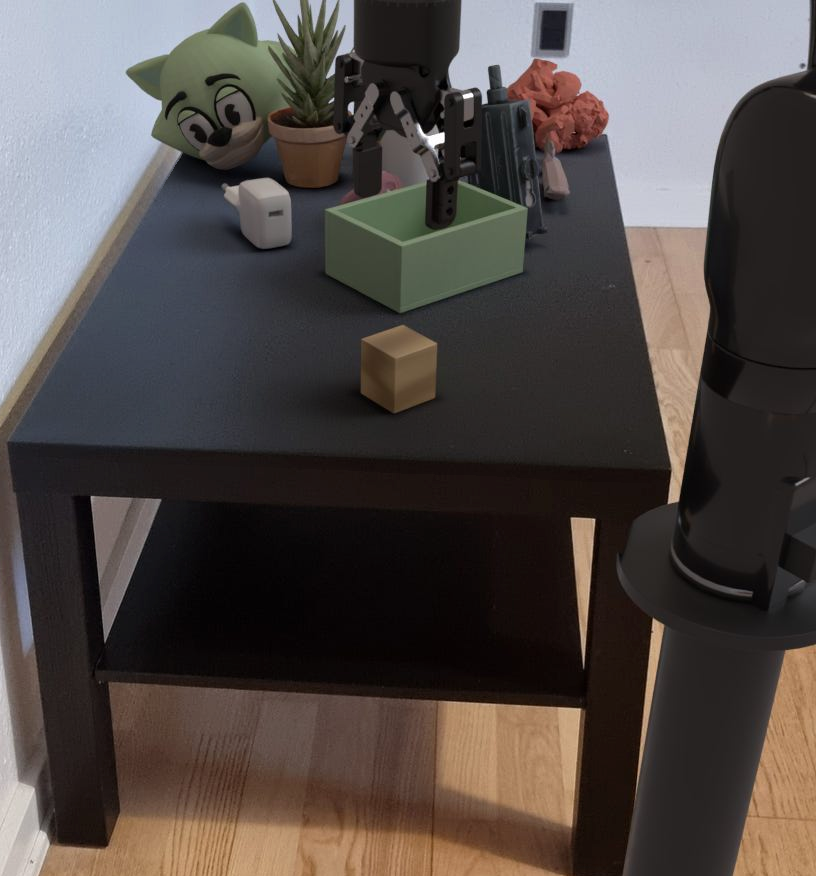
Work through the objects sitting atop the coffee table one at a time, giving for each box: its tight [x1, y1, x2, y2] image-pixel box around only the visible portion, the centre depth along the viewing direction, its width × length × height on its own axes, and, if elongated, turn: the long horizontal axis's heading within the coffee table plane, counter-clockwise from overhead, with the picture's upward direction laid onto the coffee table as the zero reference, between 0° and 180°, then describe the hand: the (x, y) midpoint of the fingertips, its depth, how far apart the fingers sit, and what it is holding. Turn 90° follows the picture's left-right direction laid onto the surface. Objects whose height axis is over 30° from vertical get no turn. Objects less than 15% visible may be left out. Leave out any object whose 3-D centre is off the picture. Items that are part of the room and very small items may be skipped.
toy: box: [125, 1, 298, 171], centre depth 154 cm, size 20×19×15 cm
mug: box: [381, 125, 439, 188], centre depth 151 cm, size 10×7×12 cm, turn 139°
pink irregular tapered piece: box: [338, 171, 402, 206], centre depth 140 cm, size 10×5×7 cm, turn 9°
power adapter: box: [221, 177, 293, 250], centre depth 139 cm, size 11×5×6 cm, turn 25°
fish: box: [541, 132, 571, 201], centre depth 149 cm, size 3×14×5 cm, turn 179°
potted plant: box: [268, 0, 354, 189], centre depth 147 cm, size 10×10×25 cm
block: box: [360, 324, 438, 414], centre depth 109 cm, size 4×4×5 cm
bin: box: [324, 179, 528, 314], centre depth 130 cm, size 12×16×7 cm
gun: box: [465, 64, 549, 240], centre depth 138 cm, size 3×17×15 cm
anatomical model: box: [506, 58, 610, 156], centre depth 159 cm, size 10×12×15 cm
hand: (402, 210), depth 102 cm, fingers open, 8 cm apart
